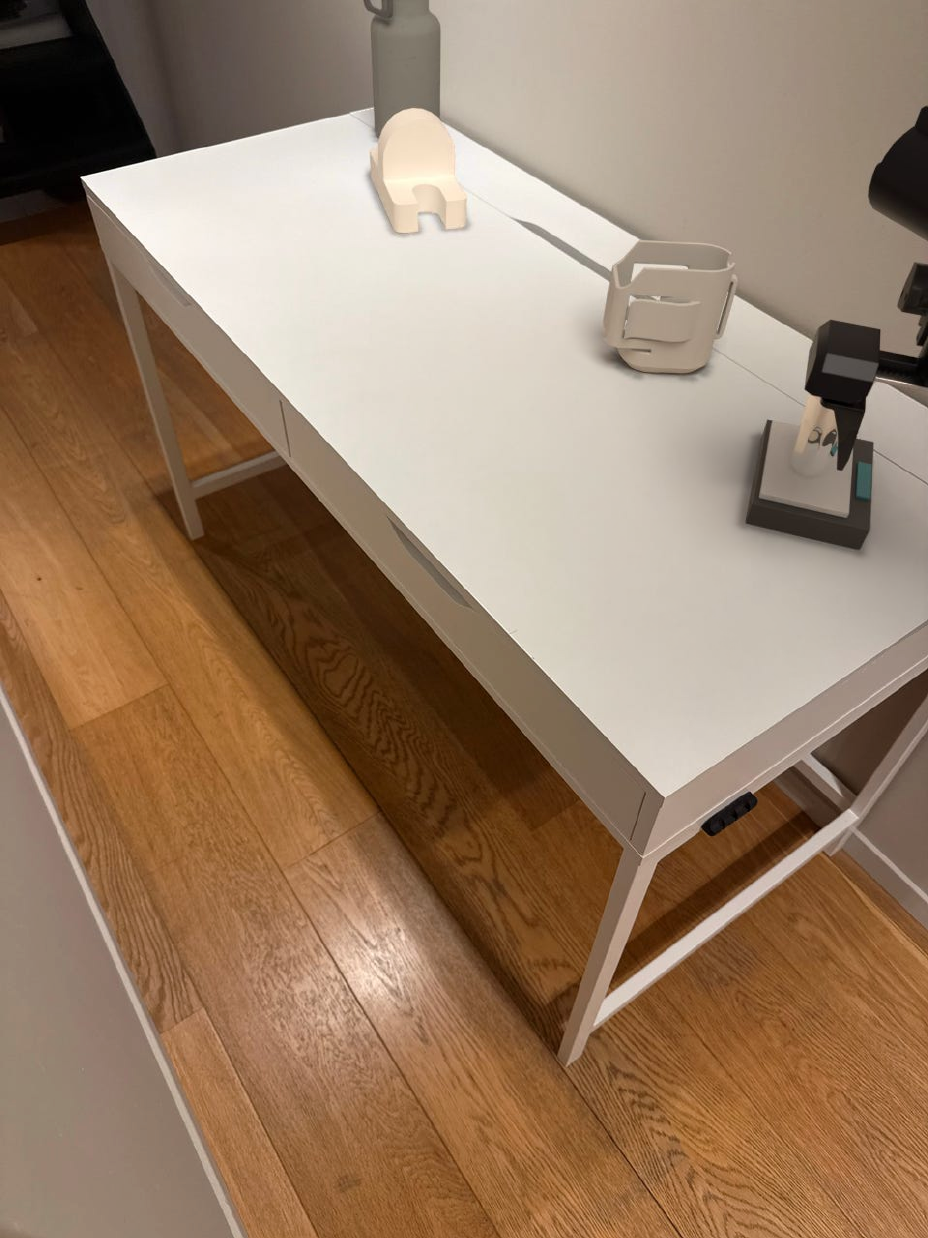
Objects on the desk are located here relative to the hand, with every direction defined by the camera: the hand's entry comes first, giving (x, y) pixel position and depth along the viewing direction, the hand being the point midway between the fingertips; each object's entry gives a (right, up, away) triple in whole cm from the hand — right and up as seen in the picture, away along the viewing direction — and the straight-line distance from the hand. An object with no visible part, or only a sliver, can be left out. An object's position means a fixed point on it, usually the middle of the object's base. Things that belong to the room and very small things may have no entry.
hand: (903, 481), depth 65 cm
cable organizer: (-12, +18, +31) cm, 38 cm away
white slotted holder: (-39, +47, +54) cm, 82 cm away
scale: (0, +2, +17) cm, 17 cm away
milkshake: (-1, +4, +15) cm, 16 cm away
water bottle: (-41, +63, +69) cm, 102 cm away
